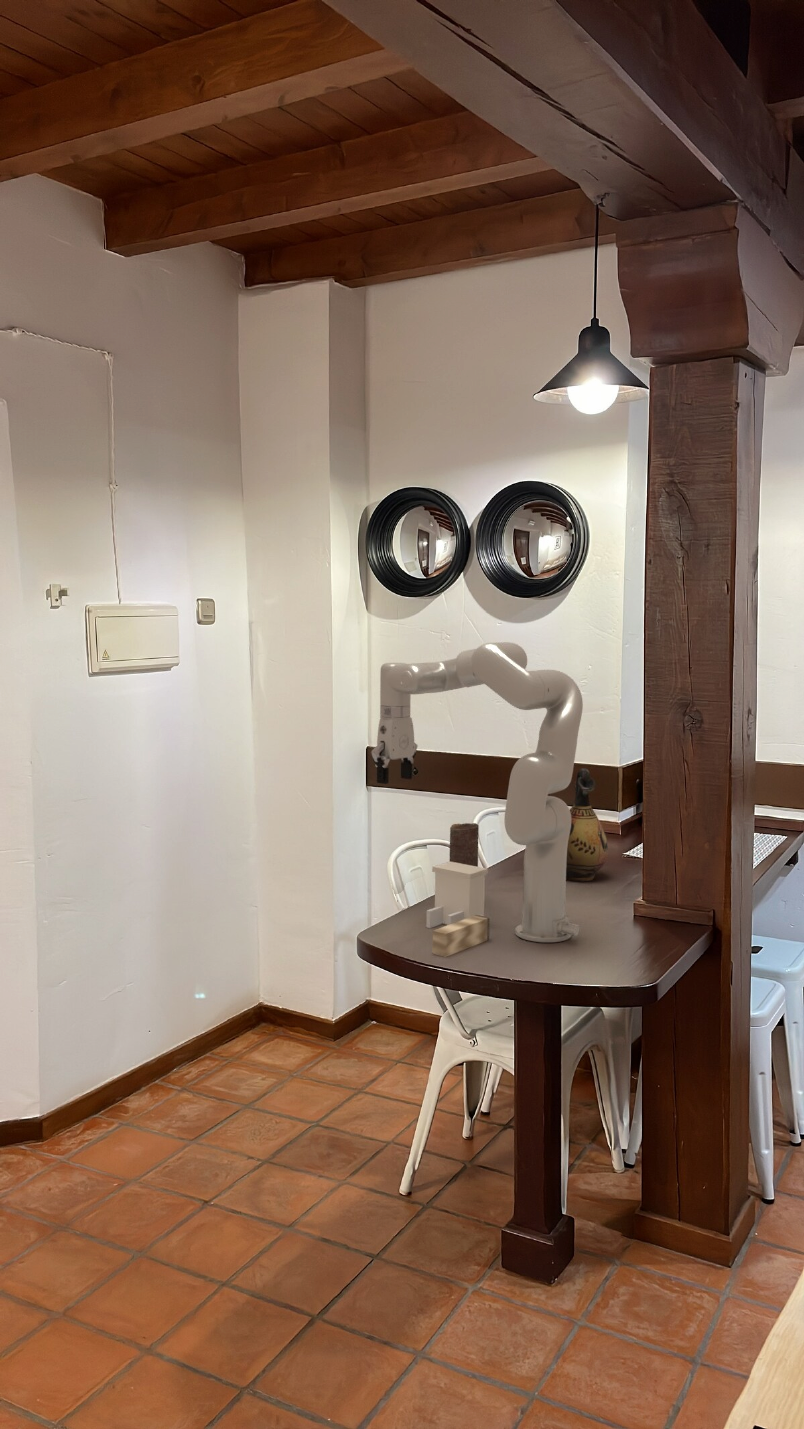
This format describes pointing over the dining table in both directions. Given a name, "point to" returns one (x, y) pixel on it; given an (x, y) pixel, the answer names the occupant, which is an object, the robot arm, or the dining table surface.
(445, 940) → the wooden block
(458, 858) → the candle
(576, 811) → the ceramic jug
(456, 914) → the white upright pillar
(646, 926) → the dining table surface
